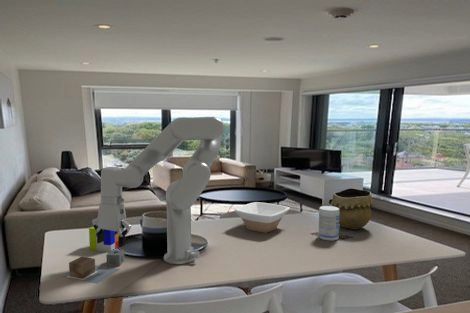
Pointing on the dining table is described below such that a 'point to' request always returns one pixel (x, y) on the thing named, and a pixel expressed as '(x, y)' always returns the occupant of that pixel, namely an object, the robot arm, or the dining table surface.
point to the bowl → (261, 216)
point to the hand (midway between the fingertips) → (111, 244)
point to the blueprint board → (96, 274)
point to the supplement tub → (328, 223)
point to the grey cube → (115, 257)
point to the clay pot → (353, 207)
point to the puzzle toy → (109, 240)
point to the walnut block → (82, 267)
